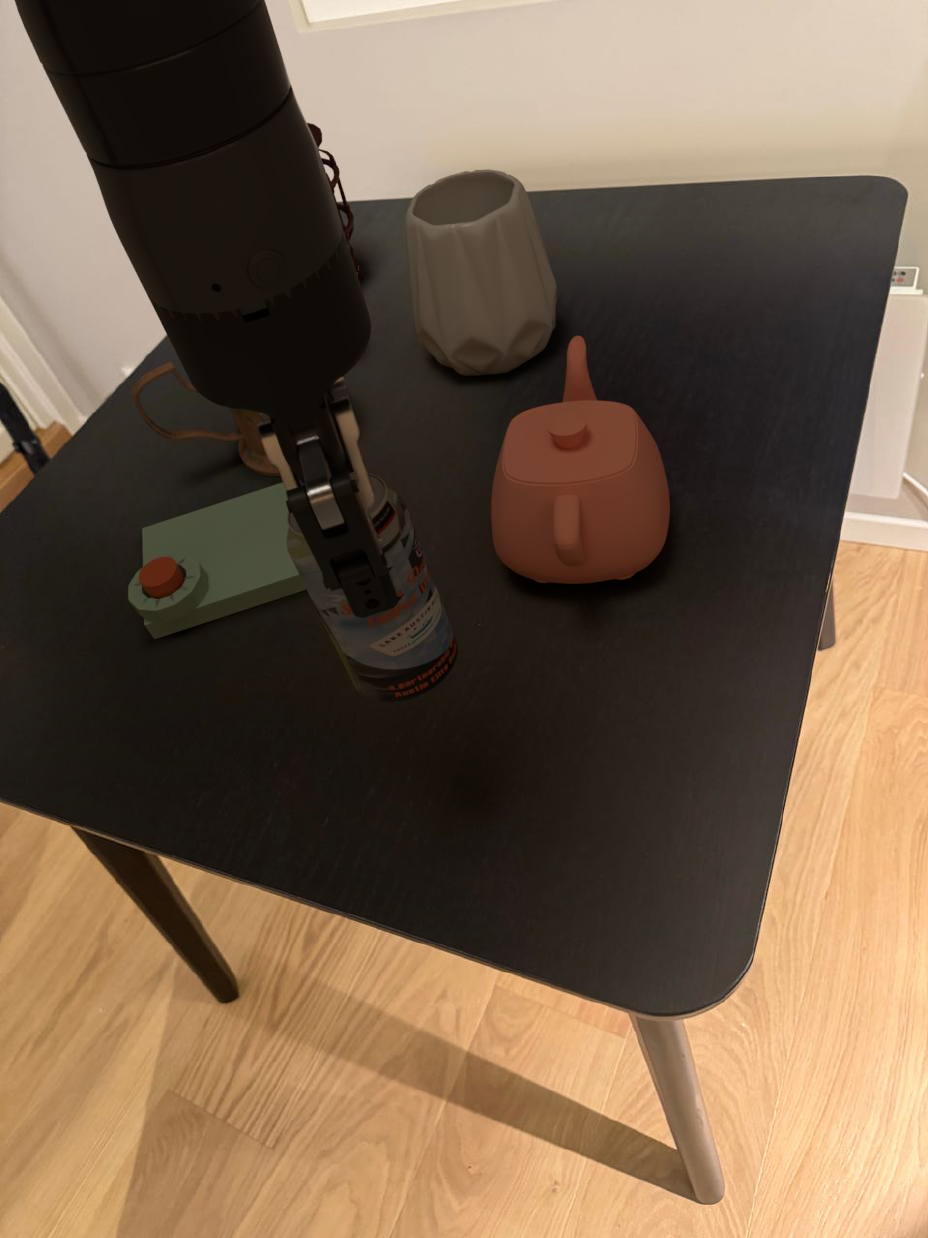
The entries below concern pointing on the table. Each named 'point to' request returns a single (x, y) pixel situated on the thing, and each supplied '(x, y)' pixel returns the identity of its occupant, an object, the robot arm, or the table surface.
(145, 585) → the button
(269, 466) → the mug
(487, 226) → the vase
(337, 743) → the table surface
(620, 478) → the teapot
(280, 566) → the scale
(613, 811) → the table surface
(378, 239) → the table surface
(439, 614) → the beverage can
